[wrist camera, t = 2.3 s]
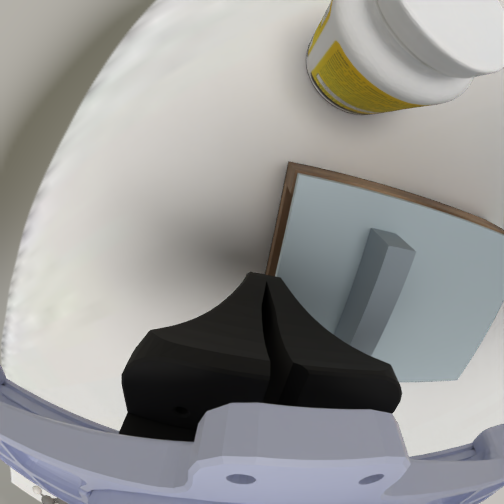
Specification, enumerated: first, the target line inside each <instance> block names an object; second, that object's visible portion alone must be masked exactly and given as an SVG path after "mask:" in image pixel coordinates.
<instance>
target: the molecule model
mask: <svg viewBox="0 0 504 504" xmlns="http://www.w3.org/2000/svg"><path fill="white" fill-rule="evenodd" d="M33 491H34V493H36V494H38V495H39V494H41V495H42V496H43V497H42V503H43V504H56V503H58V504H68V503H66V502H65V501H63V500H61V499H59V498H53V499H52V498H51V497H50V496H47V495H45V496H44V495H43V494H42V490H41V488H40V487H39V486H34V487H33Z"/></svg>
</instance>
